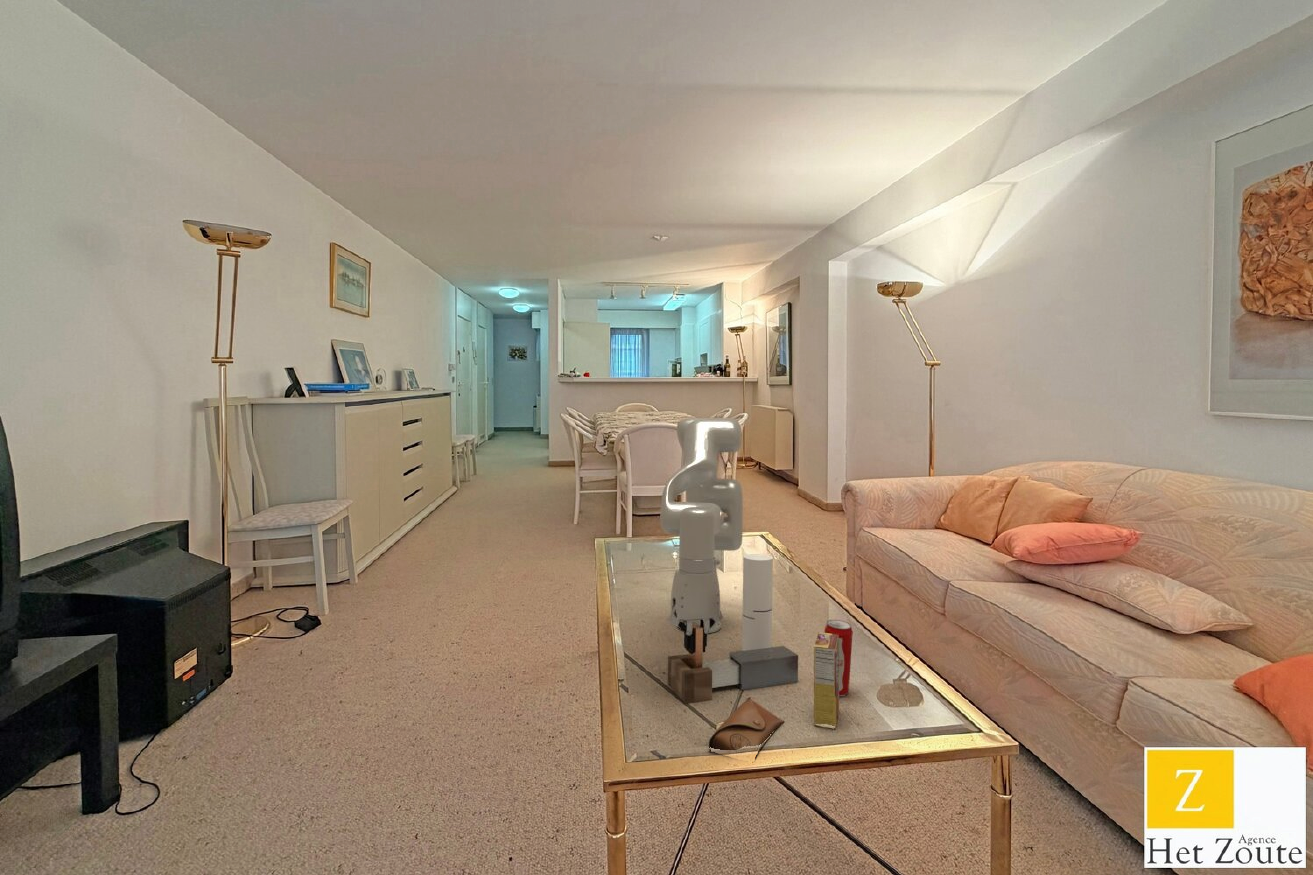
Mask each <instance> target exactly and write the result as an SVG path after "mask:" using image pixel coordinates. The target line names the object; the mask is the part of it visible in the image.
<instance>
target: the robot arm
mask: <svg viewBox="0 0 1313 875" xmlns="http://www.w3.org/2000/svg"><path fill="white" fill-rule="evenodd" d="M676 434H677V440H678V443H679V445H680V448H681V451H682V454H683V456H682V467H681V468H679V469H678V470H677V471H676V472H674V474H673V475H672V476H671V477H670V478H669V479H668V481H666V484H664V485H665V486H664V488H663V490H662V495H661V502H660V504H661V505H660V516H659V517H660V518H659V520H660V527H661V529H662V531H663V533H664V534H667V535H670V536H679V544H678V545H679V549H678V551H679V552H678V554H679V555H678V569H677V570H675V571H674V574H673V581H672V586H671V594H670V607H669V608H670V610H669V611H670V615H669V617H668V620H667V621H668V624H670V625H671V626H674V627H677V628H678V627H679V628H680V629H679V628H678V629H679V630H681V629H682V630H681V631H682V632H683V648H684V649H685V650H686V651H687V653H688V652H689V653H690V654H693V653H694V635H693V634H692V623H693V622H696V623H697V624H698V625H700V626H701V627H702V628H703V654H704V653H706V647H707V646H708V634H711V633H712V634H713V633H715V632H716V633H717V632H718V631H719V629H720V628H722V622H721V620H723V618H724V617H723V614H722V611H721V592H720V584H719V578H718V573H717V572H718V571H717V566H718V565H720V564H721V561H720V559H719V558H716V557H715V551H730V552H731V551H732V552H733V551H737V550H739V549H740V548H741V546H742V543H743V533H744V532H743V531H744V530H743V512H744V510H743V509H744V507H743V506H744V504H743V502H744V501H743V497H744V496H743V488H742V485H741V483H740V482H739V481H738V480H736V479H733V478H718V477H717V473H718V453H738V452H739V451H740V449H741V445H742V440H743V434H742V428H741V424H740V423H739V421H738V419H736V418H734V417H733V418H731V417H688V418H683V419H681V420H680V421H678V423H677V424H676ZM684 492H686V494H685V495H686V499H685V500H686V501H675V500H676V498H677V497H678V496H679V495H680V494H682V493H684ZM724 513H725V514H726V516H724ZM720 630H721V629H720Z"/></svg>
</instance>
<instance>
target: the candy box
mask: <svg viewBox="0 0 1313 875" xmlns="http://www.w3.org/2000/svg"><path fill="white" fill-rule="evenodd" d="M838 713H840V697H839V646H838V635H837V634H830V633H824V632H818V633H817V636H816V640H815V642H814V645H813V722H814V724H828V725H832V726H835V725H836V726H837V724H836V723H838V719H837V717H838V718H839V714H838ZM814 724H813V725H814Z"/></svg>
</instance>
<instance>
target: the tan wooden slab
mask: <svg viewBox="0 0 1313 875" xmlns="http://www.w3.org/2000/svg"><path fill="white" fill-rule="evenodd" d="M692 634H693V635H694V653H693V654H690V653H689V652H688V651H687V654H688V667H689V668H690V669H697V668H705V667H709V668H710V669H711V670H712V689H713V688H719V687H720V688H721V687H726V686H727V687H728V686H733V685H735V684H741V664H740V663H739V662H737V661H736V660H735V659H734V658H733V659H729V658H726V659H719V660H711V661H710V660H709V661H703V658H704V655H703V654H704V653H703V628H702V627H701V626H700V625H698V624H697V623H696V622H693V623H692ZM735 686H736V685H735Z"/></svg>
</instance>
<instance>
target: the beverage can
mask: <svg viewBox="0 0 1313 875" xmlns="http://www.w3.org/2000/svg"><path fill="white" fill-rule="evenodd" d="M823 633H830V634H837V635H838V646H839V696H842V697H845V695H846V694H847V695H848V694H849V691H850V680H851V679H850V677H851V676H850V675H851V664H852V651H853V650H852V649H853V633H854V632H853V629H852V625H851V623H850V622H847V621H845V620H841V619H829V620H827V621H826V624H825V627H824V631H823ZM847 695H846V696H847Z"/></svg>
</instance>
